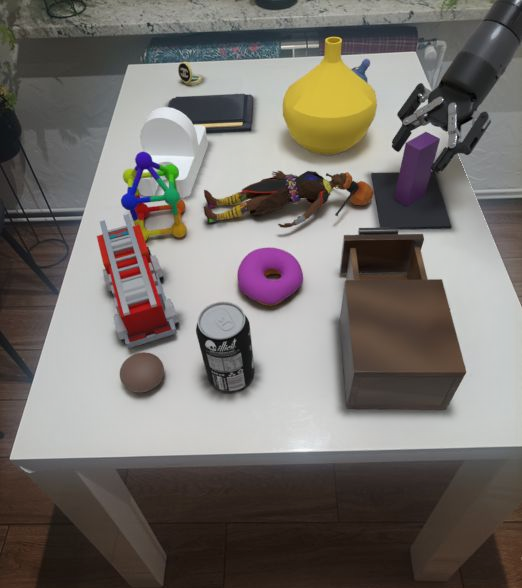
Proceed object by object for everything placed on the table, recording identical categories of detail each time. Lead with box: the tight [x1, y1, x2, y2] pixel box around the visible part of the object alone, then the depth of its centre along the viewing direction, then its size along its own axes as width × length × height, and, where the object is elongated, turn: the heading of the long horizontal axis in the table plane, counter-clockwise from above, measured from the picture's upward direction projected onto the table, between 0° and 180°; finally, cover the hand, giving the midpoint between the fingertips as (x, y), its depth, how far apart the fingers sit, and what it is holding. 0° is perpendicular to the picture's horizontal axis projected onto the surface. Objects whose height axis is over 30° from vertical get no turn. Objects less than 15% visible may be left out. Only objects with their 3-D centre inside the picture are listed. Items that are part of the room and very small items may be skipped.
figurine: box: [203, 170, 375, 229], centre depth 85 cm, size 16×8×30 cm
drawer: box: [339, 227, 428, 280], centre depth 70 cm, size 18×12×7 cm, turn 178°
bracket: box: [137, 106, 209, 199], centre depth 92 cm, size 19×10×11 cm, turn 172°
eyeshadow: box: [177, 61, 203, 86], centre depth 116 cm, size 4×5×5 cm
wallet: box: [167, 93, 255, 134], centre depth 107 cm, size 20×2×15 cm
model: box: [120, 151, 188, 242], centre depth 80 cm, size 11×10×15 cm
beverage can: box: [195, 301, 255, 392], centre depth 61 cm, size 7×7×12 cm
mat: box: [370, 171, 453, 230], centre depth 86 cm, size 12×16×1 cm
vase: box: [282, 36, 378, 156], centre depth 91 cm, size 18×18×19 cm
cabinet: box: [339, 278, 467, 410], centre depth 62 cm, size 15×13×9 cm
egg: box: [119, 351, 165, 393], centre depth 65 cm, size 6×6×4 cm
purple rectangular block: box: [394, 131, 441, 207], centre depth 82 cm, size 5×3×11 cm, turn 128°
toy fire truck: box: [96, 213, 180, 349], centre depth 71 cm, size 9×19×10 cm, turn 20°
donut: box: [236, 247, 304, 307], centre depth 74 cm, size 10×10×5 cm
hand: (413, 160), depth 79 cm, fingers open, 8 cm apart
